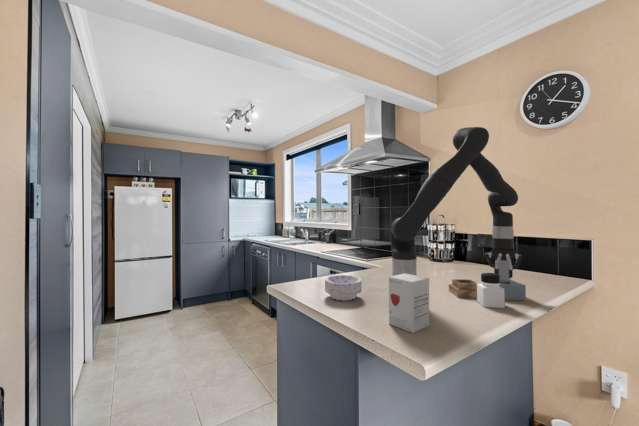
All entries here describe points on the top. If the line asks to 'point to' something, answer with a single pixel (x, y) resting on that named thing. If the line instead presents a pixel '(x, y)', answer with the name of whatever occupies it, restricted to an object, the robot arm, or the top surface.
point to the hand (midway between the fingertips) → (503, 277)
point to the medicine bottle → (490, 291)
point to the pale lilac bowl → (343, 287)
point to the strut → (504, 271)
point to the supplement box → (409, 302)
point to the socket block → (463, 288)
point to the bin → (514, 290)
